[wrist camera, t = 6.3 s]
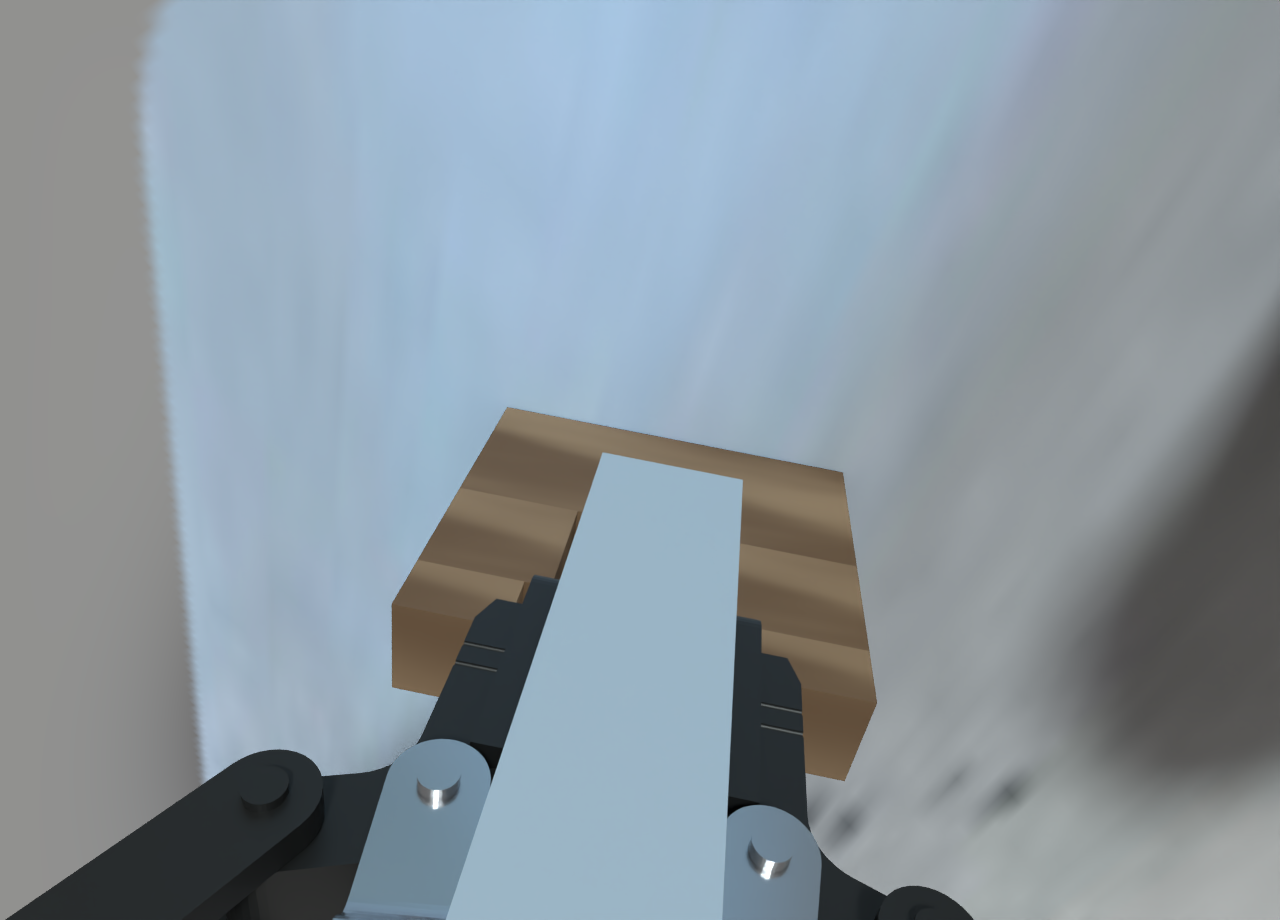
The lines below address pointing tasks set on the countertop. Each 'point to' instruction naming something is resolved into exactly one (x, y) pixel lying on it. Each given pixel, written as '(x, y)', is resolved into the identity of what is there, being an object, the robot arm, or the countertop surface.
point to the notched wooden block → (545, 528)
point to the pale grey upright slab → (622, 716)
